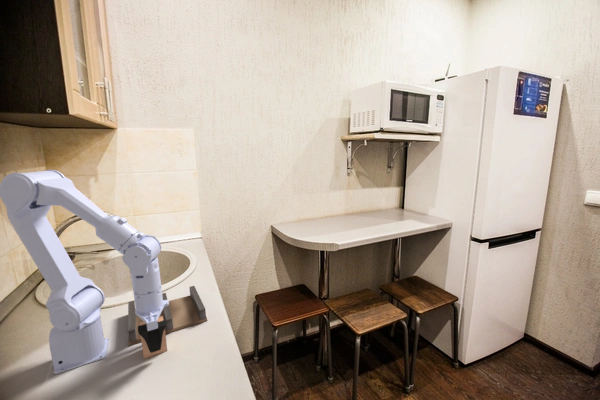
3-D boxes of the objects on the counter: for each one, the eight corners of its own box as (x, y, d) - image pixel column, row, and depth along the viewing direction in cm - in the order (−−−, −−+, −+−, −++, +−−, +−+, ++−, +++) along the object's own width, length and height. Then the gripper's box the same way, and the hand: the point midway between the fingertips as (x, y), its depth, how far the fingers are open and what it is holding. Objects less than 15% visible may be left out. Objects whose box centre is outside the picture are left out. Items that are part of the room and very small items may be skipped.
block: (143, 358, 65) (140, 331, 63) (143, 348, 68) (139, 322, 67) (167, 350, 67) (164, 324, 66) (165, 341, 71) (162, 316, 69)
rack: (128, 345, 69) (126, 331, 68) (129, 314, 83) (127, 302, 82) (207, 320, 79) (206, 308, 78) (195, 296, 92) (195, 285, 92)
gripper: (170, 297, 61) (176, 352, 63) (163, 273, 73) (168, 320, 75) (132, 307, 57) (140, 365, 60) (132, 280, 69) (139, 329, 72)
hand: (154, 341), depth 67 cm, fingers open, 7 cm apart
